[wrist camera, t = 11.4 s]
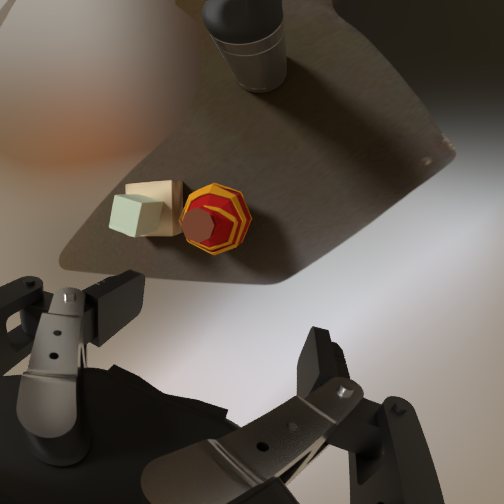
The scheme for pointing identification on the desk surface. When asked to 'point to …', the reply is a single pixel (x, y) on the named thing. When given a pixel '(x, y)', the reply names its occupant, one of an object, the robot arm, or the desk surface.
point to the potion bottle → (215, 218)
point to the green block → (135, 214)
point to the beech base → (171, 206)
